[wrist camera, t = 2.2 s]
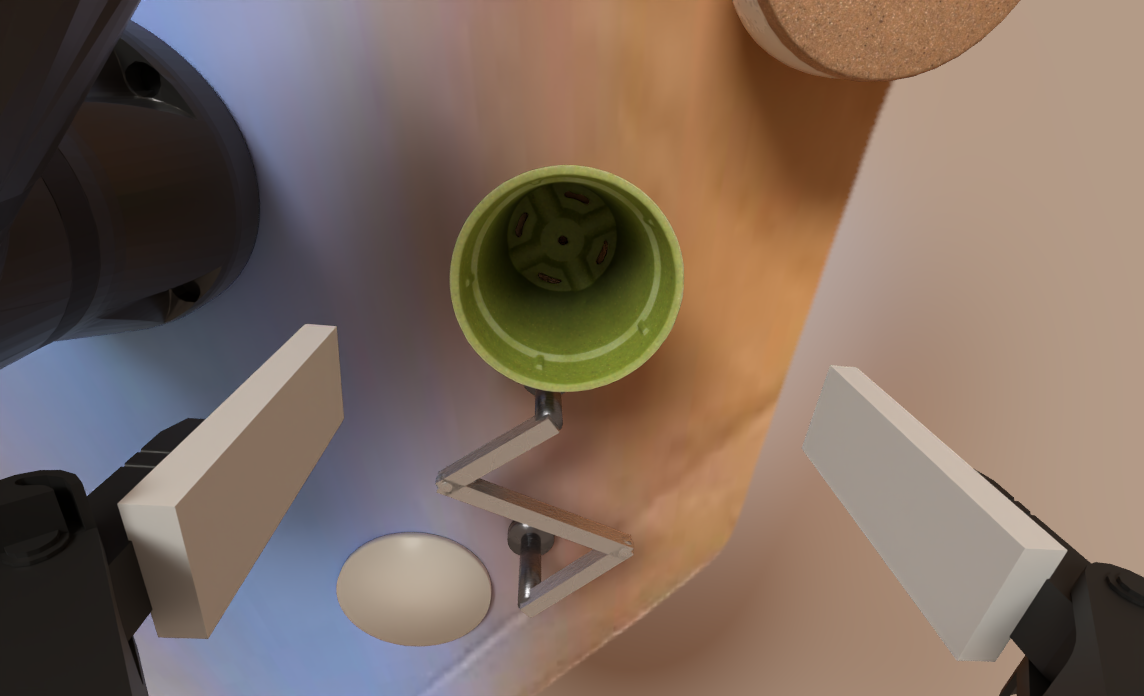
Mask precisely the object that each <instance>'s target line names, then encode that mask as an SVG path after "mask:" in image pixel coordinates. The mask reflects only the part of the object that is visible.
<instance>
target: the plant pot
mask: <svg viewBox="0 0 1144 696" xmlns="http://www.w3.org/2000/svg"><path fill="white" fill-rule="evenodd" d="M567 191H570V192H572V193H575V194H582V195H584V196H585V197H587V198H588V199H589V203H588V204H584V203H583V202H580V201H578V200H576V199H573V198H567V197H565V195H564V193H566V192H567ZM523 213H527V214H528V217H527V219H526V221H525V223H524V226H523V230H522V235H521V237H517V235H516V232H515V229H516V226H517V224H518V221H519V218H520V216H521V215H522V214H523ZM560 236H564V237H566V238H567V240H568V242H567V244H565V245H561V244H560V243H559V242H558V238H559V237H560ZM605 240H606V241H607V243H608V247H607V253H606V256H605V258H604V260H603V261H602V262H601V263H600V264H597V263H596V259H597V258H598V256H599V254H600V252H601V249H602V246H603V245H604V241H605ZM538 273H543V274H545V275H547V276H549V277H552V278H555V279H560V280H561V282H560V283H558V284H554V283H550V282H546V281H543V280H542V279H540V277H539V276H538ZM683 289H684V266H683V259H682V253H681V250H680V246H679V243H678V240H677V237H676V235H675V233H674V231H673V229H672V227H671V225H670V223H669V221H668V219H667V218H666V216H665V215H664V214H663V212H662V211H661V210H660V208H659V207H658V206H657V205H656V204H655V202H654V201H653V200H652V199H651V198H650V197H649V196H647V195H646V194H645V193H644V192H643V191H641V190H640V189H639V188H637V187H636V186H635V185H633V184H632V183H630V182H628V181H626V180H625V179H622V178H620V177H618V176H616V175H614V174H611V173H609V172H606V171H603V170H599V169H595V168H591V167H586V166H577V165H557V166H549V167H542V168H539V169H535V170H531V171H528V172H525V173H522V174H520V175H518V176H516V177H514V178H512V179H510V180H508V181H506V182H504V183H503V184H501V185H500V186H498V187H497V188H495V189H494V190H493V191H492V192H490V193H489V194H488V195H487V196H486V197H485V198H483V200H482V201H481V202H480V203H479V204H478V205H477V206H476V207H475V209H474V210H473V211H472V213H471V214H470V215H469V217H468V218H467V220H466V222H465V223H464V225H463V227H462V229H461V231H460V233H459V235H458V238H457V240H456V243H455V246H454V250H453V254H452V259H451V265H450V292H451V299H452V305H453V309H454V312H455V316H456V318H457V321H458V323H459V326H460V328H461V329H462V331H463V333H464V335H465V337H466V339H467V341H468V342H469V344H470V345H471V346H472V348H473V349H474V350H475V351H476V353H477V354H478V355H479V356H480V357H481V358H482V359H483V360H484V361H485V362H486V363H487V364H489V365H490V366H491V367H492V368H494V369H495V370H496V371H498V372H499V373H501V374H503V375H504V376H506V377H507V378H509V379H511V380H513V381H515V382H517V383H520V384H523V385H526V386H529V387H532V388H536V389H540V390H545V391H553V392H575V391H585V390H590V389H594V388H598V387H601V386H604V385H607V384H610V383H612V382H615V381H617V380H619V379H621V378H623V377H625V376H627V375H628V374H630V373H632V372H633V371H635V370H636V369H638V368H639V367H640V366H642V365H643V364H644V363H645V362H646V361H647V360H648V359H649V358H650V357H651V356H652V355H653V354H654V353H655V352H656V351H657V350H658V349H659V347H660V346H661V345H662V343H663V342H664V341H665V339H666V338H667V336H668V334H669V333H670V331H671V329H672V327H673V325H674V323H675V320H676V318H677V315H678V312H679V309H680V306H681V302H682V297H683Z"/></svg>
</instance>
